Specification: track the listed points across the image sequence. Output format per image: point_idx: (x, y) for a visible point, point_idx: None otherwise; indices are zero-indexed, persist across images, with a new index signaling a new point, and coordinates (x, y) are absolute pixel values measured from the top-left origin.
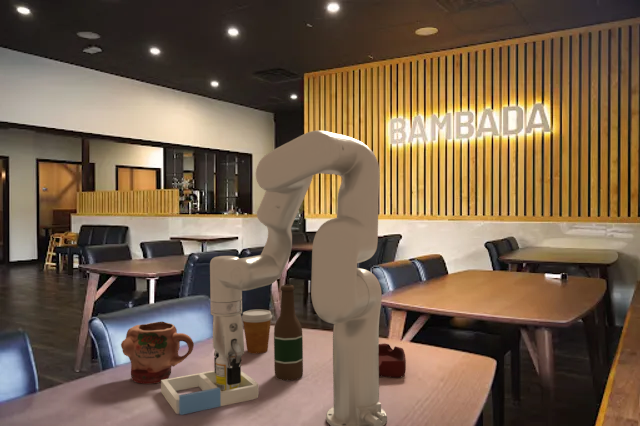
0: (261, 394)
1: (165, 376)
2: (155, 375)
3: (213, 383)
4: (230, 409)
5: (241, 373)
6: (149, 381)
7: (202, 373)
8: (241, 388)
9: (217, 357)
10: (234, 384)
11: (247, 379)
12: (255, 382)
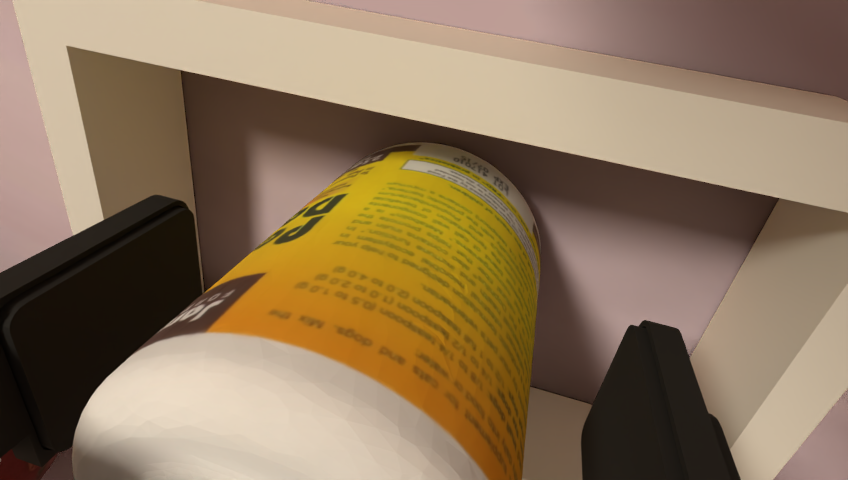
0: (817, 20)
1: None
2: (29, 476)
3: (196, 224)
4: (812, 444)
5: (307, 67)
6: (54, 458)
7: None
8: (825, 398)
9: (27, 438)
10: (536, 292)
11: (601, 151)
12: (837, 136)
